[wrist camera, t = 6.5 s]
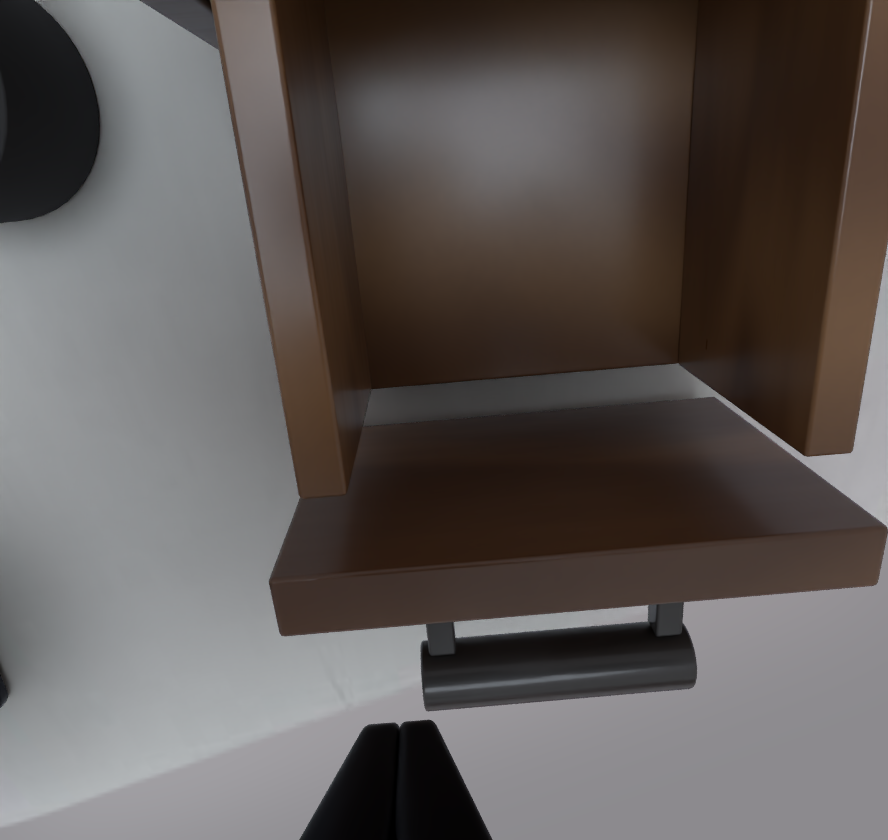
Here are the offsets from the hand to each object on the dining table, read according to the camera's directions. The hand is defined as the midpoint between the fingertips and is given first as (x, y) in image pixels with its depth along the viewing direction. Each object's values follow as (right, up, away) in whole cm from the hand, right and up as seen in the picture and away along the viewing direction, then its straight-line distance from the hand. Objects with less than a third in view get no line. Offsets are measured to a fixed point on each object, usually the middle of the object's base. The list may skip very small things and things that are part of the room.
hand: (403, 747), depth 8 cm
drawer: (+2, +7, +8) cm, 11 cm away
